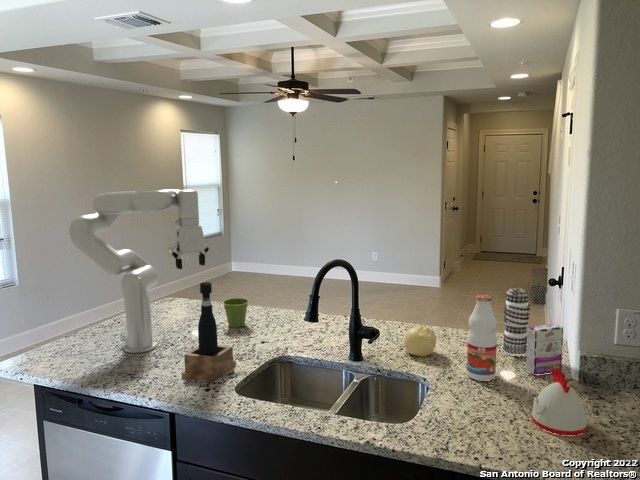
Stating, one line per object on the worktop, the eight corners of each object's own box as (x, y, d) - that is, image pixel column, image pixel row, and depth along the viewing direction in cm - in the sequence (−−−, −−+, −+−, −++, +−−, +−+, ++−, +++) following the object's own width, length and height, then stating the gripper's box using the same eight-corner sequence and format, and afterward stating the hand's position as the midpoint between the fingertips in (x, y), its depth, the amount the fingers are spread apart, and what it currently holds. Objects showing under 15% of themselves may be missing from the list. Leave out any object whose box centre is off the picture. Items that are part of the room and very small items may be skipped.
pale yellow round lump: (434, 360, 188) (434, 332, 186) (401, 357, 192) (402, 329, 190) (437, 350, 199) (438, 323, 197) (406, 346, 202) (406, 320, 201)
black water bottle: (214, 370, 176) (210, 286, 172) (196, 369, 178) (192, 285, 173) (220, 363, 183) (217, 281, 178) (204, 362, 184) (200, 281, 179)
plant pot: (221, 323, 235) (220, 299, 234) (247, 320, 239) (246, 297, 237) (225, 330, 224) (224, 305, 222) (251, 328, 228) (251, 303, 226)
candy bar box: (551, 367, 180) (554, 322, 178) (561, 373, 176) (564, 327, 173) (524, 371, 177) (526, 325, 175) (533, 377, 173) (536, 330, 170)
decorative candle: (533, 356, 191) (536, 291, 188) (512, 358, 189) (515, 293, 185) (517, 347, 200) (520, 285, 196) (496, 350, 198) (499, 287, 194)
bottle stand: (181, 377, 175) (180, 356, 174) (207, 360, 190) (206, 341, 189) (212, 382, 171) (211, 360, 170) (236, 364, 185) (235, 344, 184)
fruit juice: (496, 373, 176) (500, 294, 172) (493, 384, 167) (497, 301, 163) (468, 369, 179) (471, 291, 175) (464, 379, 171) (466, 298, 167)
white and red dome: (570, 411, 149) (573, 362, 146) (597, 436, 135) (601, 382, 133) (523, 412, 148) (525, 363, 146) (545, 437, 134) (548, 383, 132)
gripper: (172, 225, 185) (175, 271, 187) (213, 221, 197) (215, 265, 199) (162, 223, 190) (165, 268, 193) (203, 220, 202) (205, 262, 205)
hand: (190, 266), depth 196 cm, fingers open, 9 cm apart
